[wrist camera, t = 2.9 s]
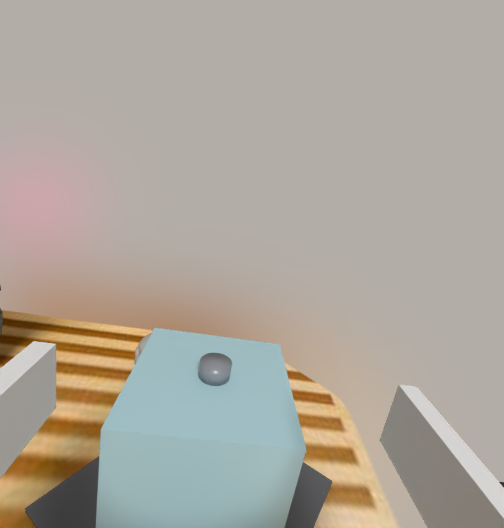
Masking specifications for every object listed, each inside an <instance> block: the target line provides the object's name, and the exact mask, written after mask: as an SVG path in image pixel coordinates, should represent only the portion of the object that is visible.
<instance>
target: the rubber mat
mask: <svg viewBox="0 0 504 528" xmlns="http://www.w3.org/2000/svg"><path fill="white" fill-rule="evenodd" d="M98 474H99V457H98V458H96V459H95V460H93V461H92V462H91V463H89V464H88V465H86V466H85V467H83V468H82V469H81V470H79V471H78V472H76V473H75V474H73V475H72V476H71V477H69V478H68V479H66V480H65V481H64V482H62V483H61V484H59V485H58V486H56V487H55V488H54V489H52V490H51V491H49V492H48V493H47V494H45V495H44V496H42V497H41V498H39V499H38V500H37V501H35V502H34V503H32V504H31V505H30V506H28V507H27V508H26V514H27V515H28V516H29V518H30V519H31V520H32V522H33V523H34V524H35V526H36V527H37V528H96V512H97V493H98ZM331 484H332V481H331V480H330V479H328V478H327V477H325V476H324V475H322V474H320V473H319V472H317V471H316V470H314V469H313V468H311V467H310V466H308V465H307V464H305V463H303V464H302V467H301V471H300V474H299V478H298V481H297V485H296V488H295V492H294V496H293V499H292V503H291V506H290V510H289V513H288V517H287V521H286V524H285V528H313V527H314V525H315V522H316V520H317V518H318V515H319V513H320V510H321V508H322V506H323V503H324V501H325V498H326V496H327V494H328V491H329V489H330V486H331Z"/></svg>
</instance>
